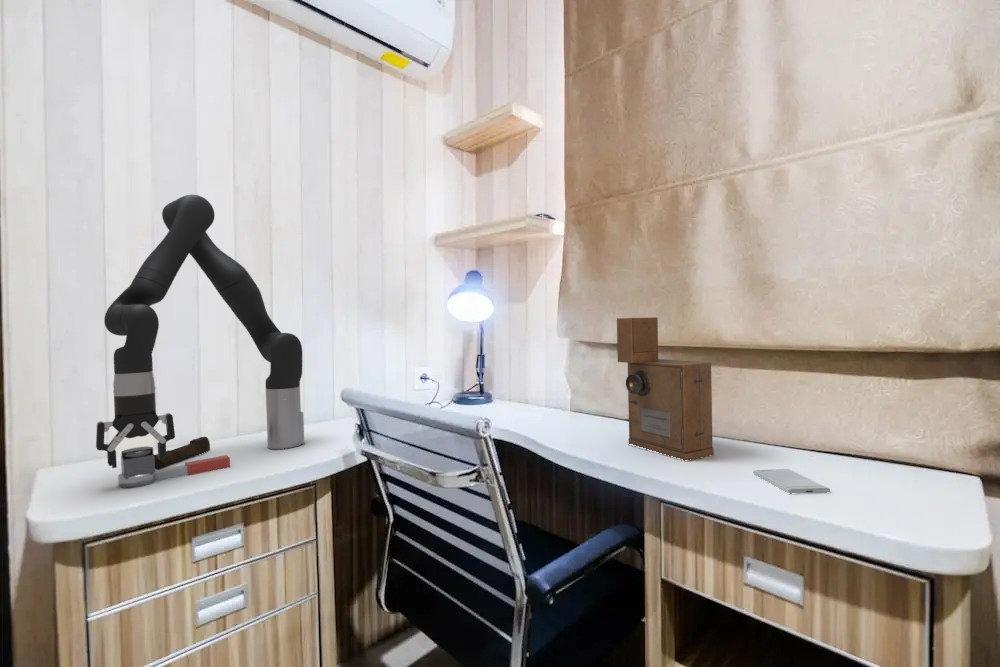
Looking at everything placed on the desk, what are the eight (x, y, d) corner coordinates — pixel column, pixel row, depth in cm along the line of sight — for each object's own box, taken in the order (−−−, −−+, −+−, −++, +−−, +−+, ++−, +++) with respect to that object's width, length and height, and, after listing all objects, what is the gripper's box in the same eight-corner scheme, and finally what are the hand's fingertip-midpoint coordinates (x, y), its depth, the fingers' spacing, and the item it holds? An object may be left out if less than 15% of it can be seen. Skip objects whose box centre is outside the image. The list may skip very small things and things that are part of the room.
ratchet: (224, 463, 126) (224, 440, 126) (232, 468, 121) (231, 444, 121) (117, 483, 111) (116, 457, 111) (120, 490, 106) (119, 463, 106)
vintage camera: (617, 447, 132) (615, 318, 131) (655, 440, 139) (652, 317, 138) (674, 464, 115) (671, 316, 115) (713, 455, 122) (711, 315, 121)
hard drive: (753, 469, 106) (788, 488, 94) (789, 468, 106) (830, 487, 94) (753, 477, 106) (788, 497, 94) (789, 476, 106) (830, 495, 94)
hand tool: (159, 471, 121) (159, 452, 121) (146, 470, 122) (145, 452, 122) (217, 451, 140) (217, 435, 140) (205, 451, 141) (205, 435, 141)
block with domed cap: (151, 467, 115) (151, 445, 115) (155, 472, 111) (154, 449, 111) (121, 472, 111) (120, 450, 111) (123, 478, 107) (122, 454, 107)
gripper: (169, 387, 118) (172, 453, 118) (93, 394, 108) (96, 466, 109) (175, 390, 113) (177, 459, 113) (95, 397, 103) (98, 473, 103)
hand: (137, 463), depth 111 cm, fingers open, 8 cm apart
